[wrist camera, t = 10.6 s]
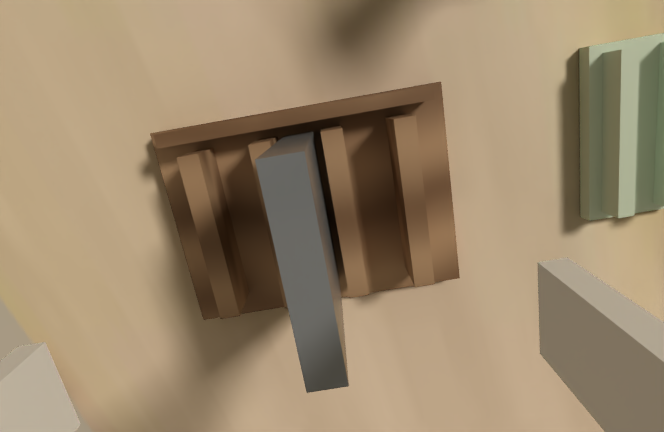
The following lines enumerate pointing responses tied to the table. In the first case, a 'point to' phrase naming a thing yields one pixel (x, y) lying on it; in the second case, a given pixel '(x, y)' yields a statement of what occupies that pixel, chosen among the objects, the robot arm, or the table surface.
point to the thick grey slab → (305, 257)
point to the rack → (340, 193)
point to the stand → (621, 127)
